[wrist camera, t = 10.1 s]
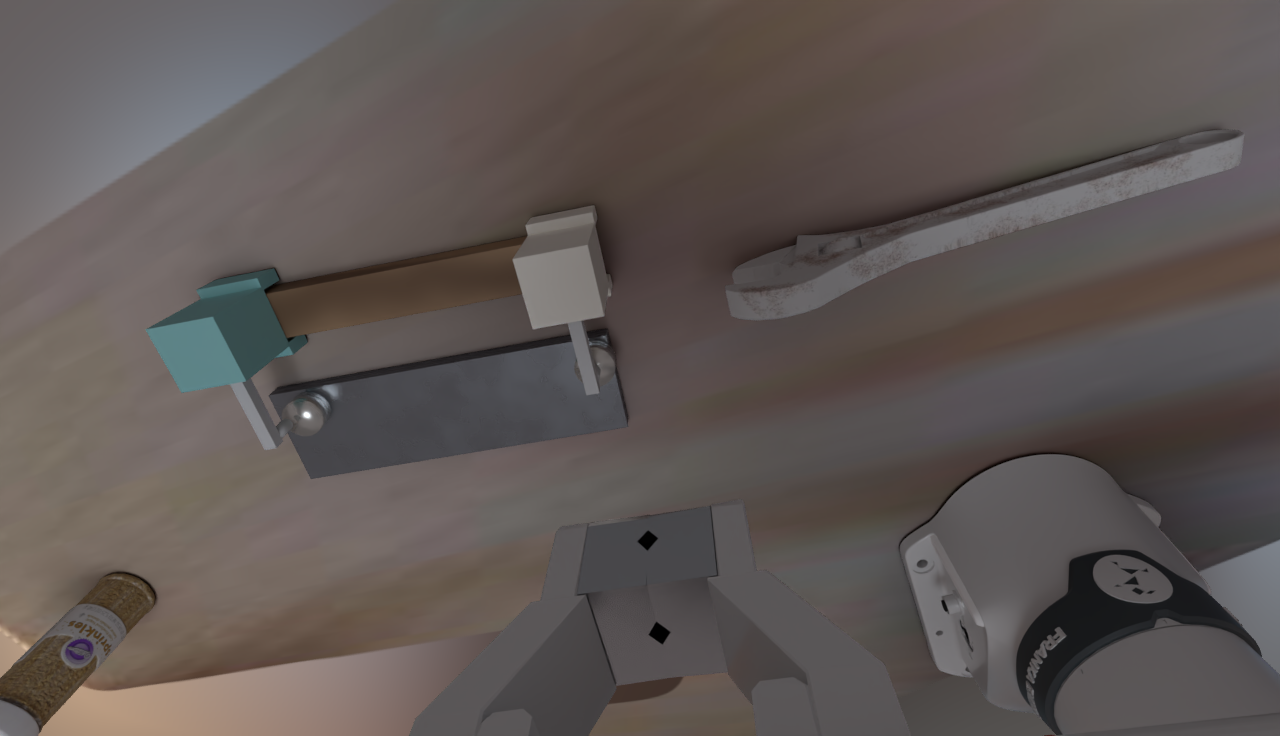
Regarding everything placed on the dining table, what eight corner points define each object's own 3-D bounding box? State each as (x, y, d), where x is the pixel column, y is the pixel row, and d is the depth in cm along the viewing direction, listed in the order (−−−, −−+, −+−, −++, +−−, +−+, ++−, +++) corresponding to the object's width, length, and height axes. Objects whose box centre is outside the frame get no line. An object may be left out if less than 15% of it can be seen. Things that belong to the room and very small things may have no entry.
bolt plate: (632, 417, 46) (631, 437, 43) (318, 469, 48) (301, 491, 45) (611, 327, 43) (609, 344, 40) (277, 387, 45) (256, 406, 42)
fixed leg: (627, 352, 43) (624, 402, 37) (569, 362, 44) (557, 413, 37) (594, 205, 39) (584, 233, 33) (530, 217, 39) (509, 248, 33)
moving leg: (336, 403, 45) (286, 459, 39) (283, 412, 45) (225, 469, 39) (274, 268, 41) (207, 306, 35) (216, 279, 41) (139, 319, 35)
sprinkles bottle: (167, 590, 53) (26, 748, 41) (142, 619, 55) (0, 779, 43) (113, 561, 52) (-48, 714, 40) (90, 591, 53) (-73, 749, 41)
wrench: (1168, 152, 40) (710, 287, 41) (1171, 122, 40) (704, 260, 40) (1301, 169, 33) (742, 333, 34) (1308, 132, 32) (735, 301, 33)
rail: (593, 271, 41) (591, 281, 39) (251, 335, 43) (234, 347, 41) (583, 225, 40) (580, 233, 38) (231, 293, 42) (212, 304, 40)
